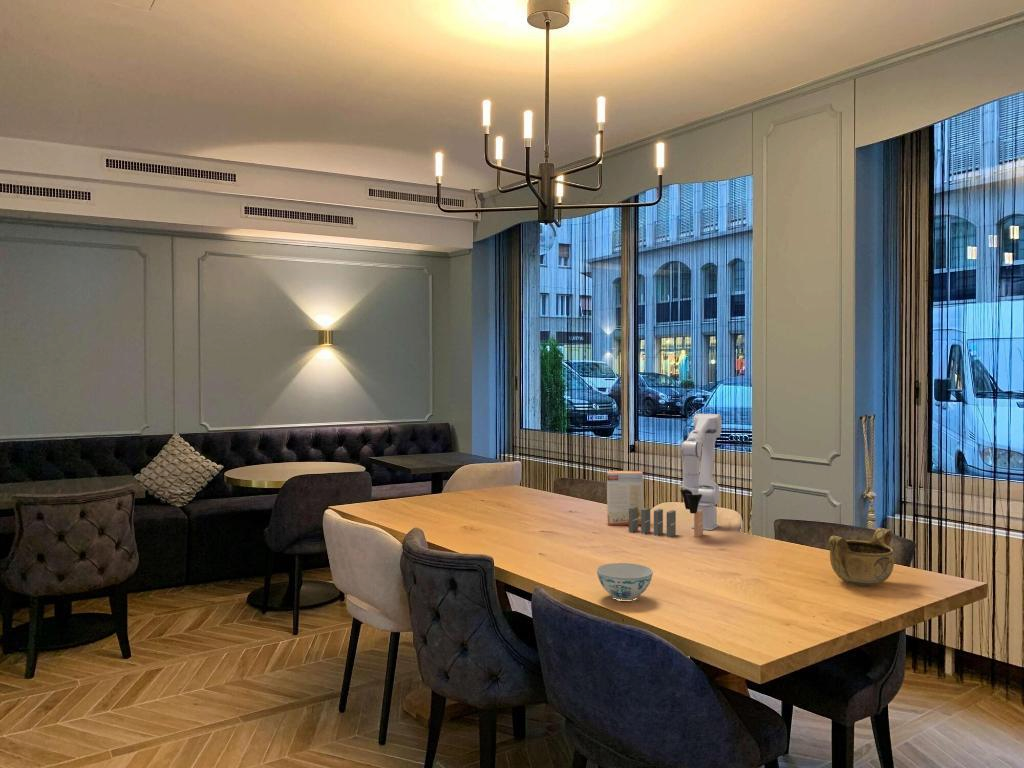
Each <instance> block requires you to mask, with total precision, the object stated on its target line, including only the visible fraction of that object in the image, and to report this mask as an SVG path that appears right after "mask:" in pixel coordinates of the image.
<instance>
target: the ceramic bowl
mask: <svg viewBox="0 0 1024 768" xmlns="http://www.w3.org/2000/svg"><path fill="white" fill-rule="evenodd" d="M892 537H893V532H892V530H891V529H888V528H882V527H878V528H876V530H875V531H874V534H873V535H872V539H871V540H870V541H866V540H855V539H846V538H845V537H842V536H837V535H831V536H830V537H829V539H828V545H829V549H830V551H829V558H830V559H829V561H830V565H831V567H832V570H833V572H834V574H835V575H836V576H837V577H838V578H840V580H842V581H843V582H845V583H847V584H849V585H851V584H852V586H855V587H862V588H871V587H875V586H878V585H880V584H881V583H884V582H885V581H887V580H888V579H889V578H890V576H891V575H892V573H893V570H894V567H895V556H894V550H893V548H892V547H891V546H890V543H891V541H892Z"/></svg>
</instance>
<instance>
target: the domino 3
mask: <svg viewBox="0 0 1024 768" xmlns="http://www.w3.org/2000/svg"><path fill="white" fill-rule="evenodd" d="M676 519H677V514H676V510H674V509H672V510H668V511H667V512H666V537H667V536H668V537H667V538H673V537H674V536H676V535H677V531H676V530H677V528H676V527H677V524H676V523H677V520H676ZM675 534H676V535H675Z"/></svg>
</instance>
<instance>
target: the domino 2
mask: <svg viewBox="0 0 1024 768" xmlns="http://www.w3.org/2000/svg"><path fill="white" fill-rule="evenodd" d="M661 533H662V534H663V533H664V509H663V508H657V509H656V510H653V536H656V535H658V536H660V535H662V534H661ZM659 534H660V535H659Z"/></svg>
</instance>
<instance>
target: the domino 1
mask: <svg viewBox="0 0 1024 768" xmlns="http://www.w3.org/2000/svg"><path fill="white" fill-rule="evenodd" d="M649 531H650V532H651V507H643V509H642V510H641V526H640V534H641V533H647V532H649ZM650 532H649V533H650ZM647 534H648V533H647Z"/></svg>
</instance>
